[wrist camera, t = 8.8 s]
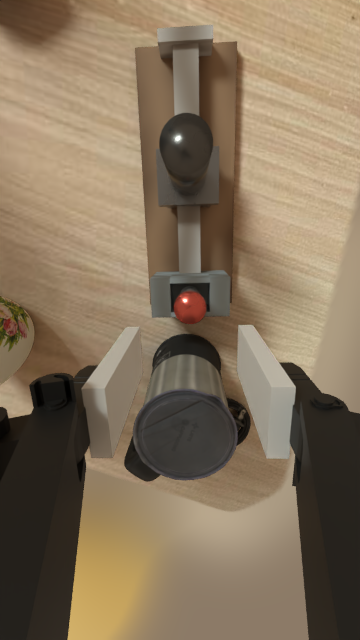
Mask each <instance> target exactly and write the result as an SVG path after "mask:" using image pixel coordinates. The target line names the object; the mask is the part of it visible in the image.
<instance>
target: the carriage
mask: <svg viewBox="0 0 360 640" xmlns="http://www.w3.org/2000/svg"><path fill="white" fill-rule="evenodd" d="M159 148H160V149H156V166H157V187H158V206H160V207H167V208H168V209H172V208H175V207H178V206H202V207H210V206H211V205H218V204H219V146H213V136H212V132H211V130H210V127H209V126H208V124H207V123H206V122H205V120H203V119H202V118H201V117H200V116H198V115H196V114H193V113H181V114H177V115H175V116H174V117H172V118H171V119H170V120H168V122H167V123H166V124H165V125H164V127H163V129H162V131H161V134H160V139H159Z"/></svg>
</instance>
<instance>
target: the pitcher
mask: <svg viewBox="0 0 360 640" xmlns="http://www.w3.org/2000/svg"><path fill="white" fill-rule="evenodd" d="M34 334H35V332H34V325H33V322H32V320H31V318H30V316H29V314H28V313H27V312H26V311H25V310H24V309H23V308H22V307H21V306H20V305H19V304H17V303H16V302H14V301H12V300H10V299H8V298H5V297H1V296H0V385H1V384H2V383H4V382H5V381H6V380H8V379H9V378H10V377H11V376H12V375H13V374H14V373H15V372H16V371H17V370H18V369H19V368H20V367H21V366H22V364H23V363H24V362H25V360H26V359H27V357H28V355H29V353H30V351H31V348H32V346H33V342H34Z"/></svg>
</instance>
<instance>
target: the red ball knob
mask: <svg viewBox="0 0 360 640" xmlns="http://www.w3.org/2000/svg"><path fill="white" fill-rule="evenodd" d="M174 313H175V315H176V317H177V318H178V319H179V320H180V321H181V322H183V323H186V324H195V323H197V322H199V321H200V320H202V318H203V317H204V315H205V313H206V303H205V300H204V298H203V296H202V295H201V294H200V291H199V290H198V289H197V288H195V287H193V286H188V287H185V288H184V289H183V290H182V291H181V292H180V294H179V295H178V297H177V298H176V300H175V304H174Z"/></svg>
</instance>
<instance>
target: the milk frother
mask: <svg viewBox="0 0 360 640" xmlns="http://www.w3.org/2000/svg"><path fill="white" fill-rule="evenodd" d="M152 366H153V370H152V374H151V378H150V382H149V385H148V389H147V393H146V397H145V401H144V405H143V408H142V409H141V410H140V412H139V414H138V416H137V417H136V420H135V423H134V428H133V436H132V439H131V442H130V445H129V448H128V451H127V453H126V456H125V461H124V465H125V467H126V469H127V470H128V471H129V472H131V473H132V474H133V475H135V476H136V477H138V478H140V479H142V480H144V481H152V480H154V479H156V478H157V477H159V476H160V475H162V476H165V477H169V478H172V479H175V480H195V479H200V478H205V477H207V476H209V475H211V474H214V473H216V472H217V471H218V470H220V469H221V468H223V467H224V466H225V465H226V463H227V462H228V461H229V460H230V458H231V457H232V455H233V453H234V451H235V449H236V446H237V445H239V444H240V443H241V442H242V441H243V440H244V439H245V438H246V436H247V435H248V432H249V429H250V417H249V414H248V412H247V410H246V409H245V408H244V407H243V406H242V405H241V404H239V403H238V402H236V401H234V400H231V399H228V398H226V395H225V391H224V386H223V383H222V378H221V373H220V370H221V362H220V358H219V355H218V352H217V351H216V349H215V348H214V346H213V345H212V344H211V343H210V342H208V341H207V340H206V339H204V338H202V337H200V336H196V335H192V334H181V335H176V336H173V337H171V338H169V339H167V340H166V341H164V342H163V343H162V344H161V345H160V346H159V348H158V349H157V351H156V353H155V355H154V358H153V364H152ZM229 408H232V409H235V410H237V411H238V416H237V418H236V417H234V416H232V414H231V413H230V411H229ZM240 427H241V428H240ZM239 429H240V430H239ZM238 430H239V431H238ZM237 431H238V432H237Z"/></svg>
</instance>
